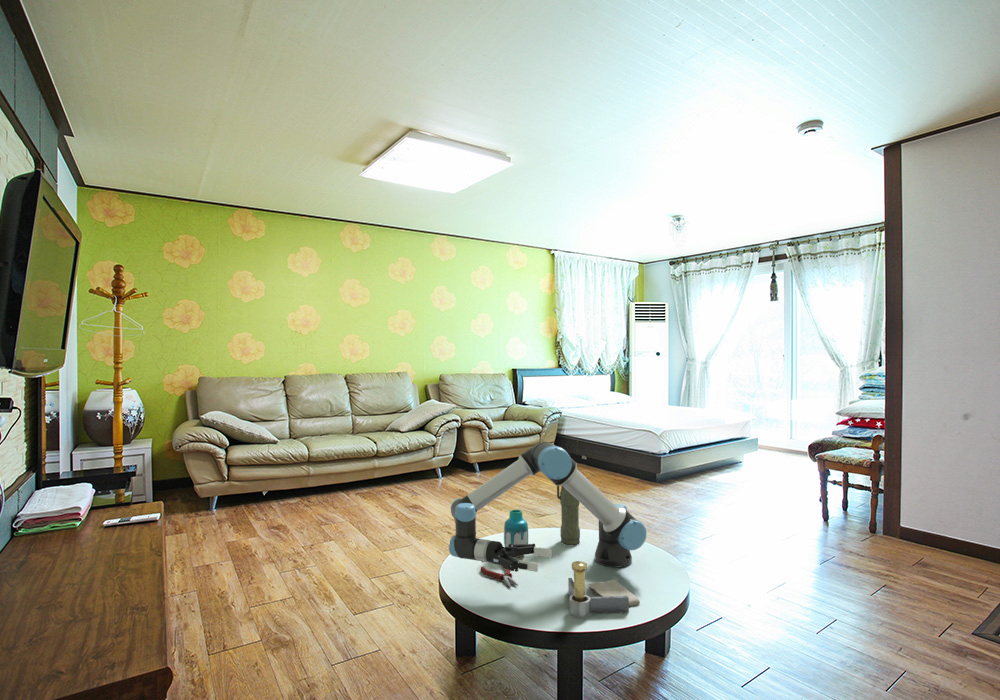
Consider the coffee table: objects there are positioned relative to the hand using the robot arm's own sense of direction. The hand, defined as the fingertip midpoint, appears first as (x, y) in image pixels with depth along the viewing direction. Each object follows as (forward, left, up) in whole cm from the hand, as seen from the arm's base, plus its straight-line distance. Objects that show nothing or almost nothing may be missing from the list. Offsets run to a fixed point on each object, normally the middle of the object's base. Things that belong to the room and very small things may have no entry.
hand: (544, 560), depth 178 cm
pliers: (+15, -24, -16) cm, 33 cm away
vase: (+5, -46, -16) cm, 49 cm away
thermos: (-21, -60, -16) cm, 66 cm away
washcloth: (-25, -5, -16) cm, 30 cm away
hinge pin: (-11, +7, -15) cm, 20 cm away
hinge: (-17, 0, -15) cm, 23 cm away
